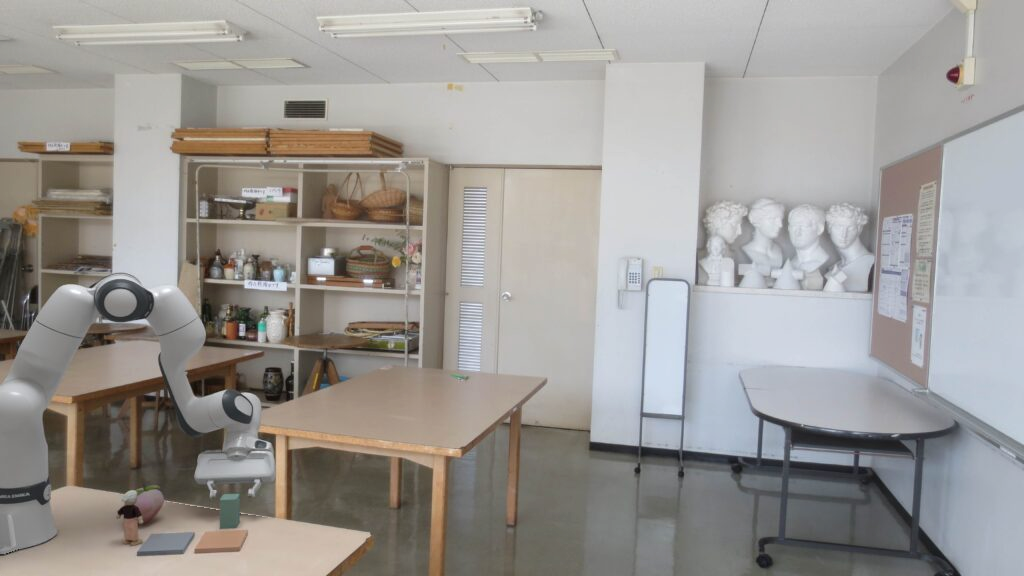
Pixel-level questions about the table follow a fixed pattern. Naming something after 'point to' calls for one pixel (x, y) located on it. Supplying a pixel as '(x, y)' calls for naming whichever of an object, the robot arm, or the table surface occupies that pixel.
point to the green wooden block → (229, 511)
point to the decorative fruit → (149, 501)
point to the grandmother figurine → (130, 518)
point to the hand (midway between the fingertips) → (232, 497)
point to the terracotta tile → (221, 541)
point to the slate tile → (166, 543)
